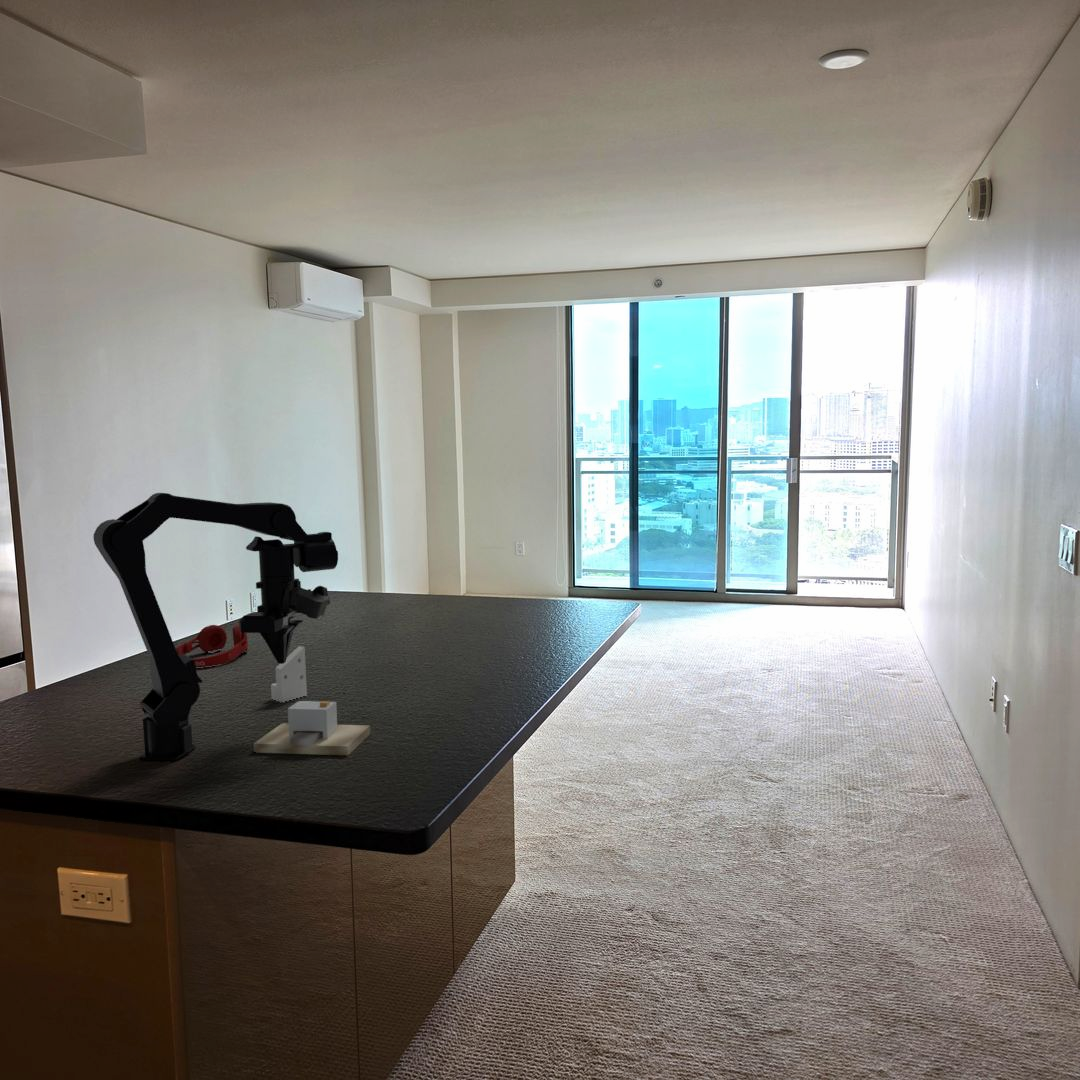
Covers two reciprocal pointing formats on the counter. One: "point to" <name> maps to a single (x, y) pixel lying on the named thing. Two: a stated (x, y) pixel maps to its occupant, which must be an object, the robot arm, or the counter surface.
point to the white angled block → (290, 677)
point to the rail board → (312, 741)
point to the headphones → (215, 645)
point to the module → (313, 717)
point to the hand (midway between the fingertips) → (281, 663)
